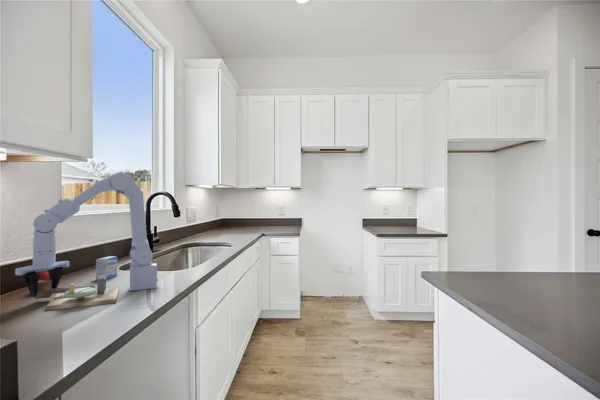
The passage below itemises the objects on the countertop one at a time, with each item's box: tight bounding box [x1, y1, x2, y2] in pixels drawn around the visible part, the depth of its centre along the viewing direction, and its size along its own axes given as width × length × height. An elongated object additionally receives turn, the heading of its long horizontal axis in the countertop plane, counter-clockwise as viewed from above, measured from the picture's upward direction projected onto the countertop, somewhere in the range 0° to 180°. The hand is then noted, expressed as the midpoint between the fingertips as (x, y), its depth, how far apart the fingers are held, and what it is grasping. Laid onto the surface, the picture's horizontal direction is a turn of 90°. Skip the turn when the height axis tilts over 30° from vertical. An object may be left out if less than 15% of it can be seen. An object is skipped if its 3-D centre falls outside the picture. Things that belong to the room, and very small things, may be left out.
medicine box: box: [95, 255, 118, 281], centre depth 134 cm, size 8×4×9 cm, turn 179°
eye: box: [96, 275, 107, 295], centre depth 108 cm, size 2×6×5 cm, turn 27°
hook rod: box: [34, 280, 96, 300], centre depth 104 cm, size 16×4×5 cm, turn 117°
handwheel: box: [64, 283, 97, 300], centre depth 100 cm, size 8×8×6 cm
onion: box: [38, 270, 50, 281], centre depth 112 cm, size 6×6×8 cm
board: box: [45, 287, 120, 311], centre depth 103 cm, size 18×14×1 cm
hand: (43, 293), depth 101 cm, fingers open, 5 cm apart
